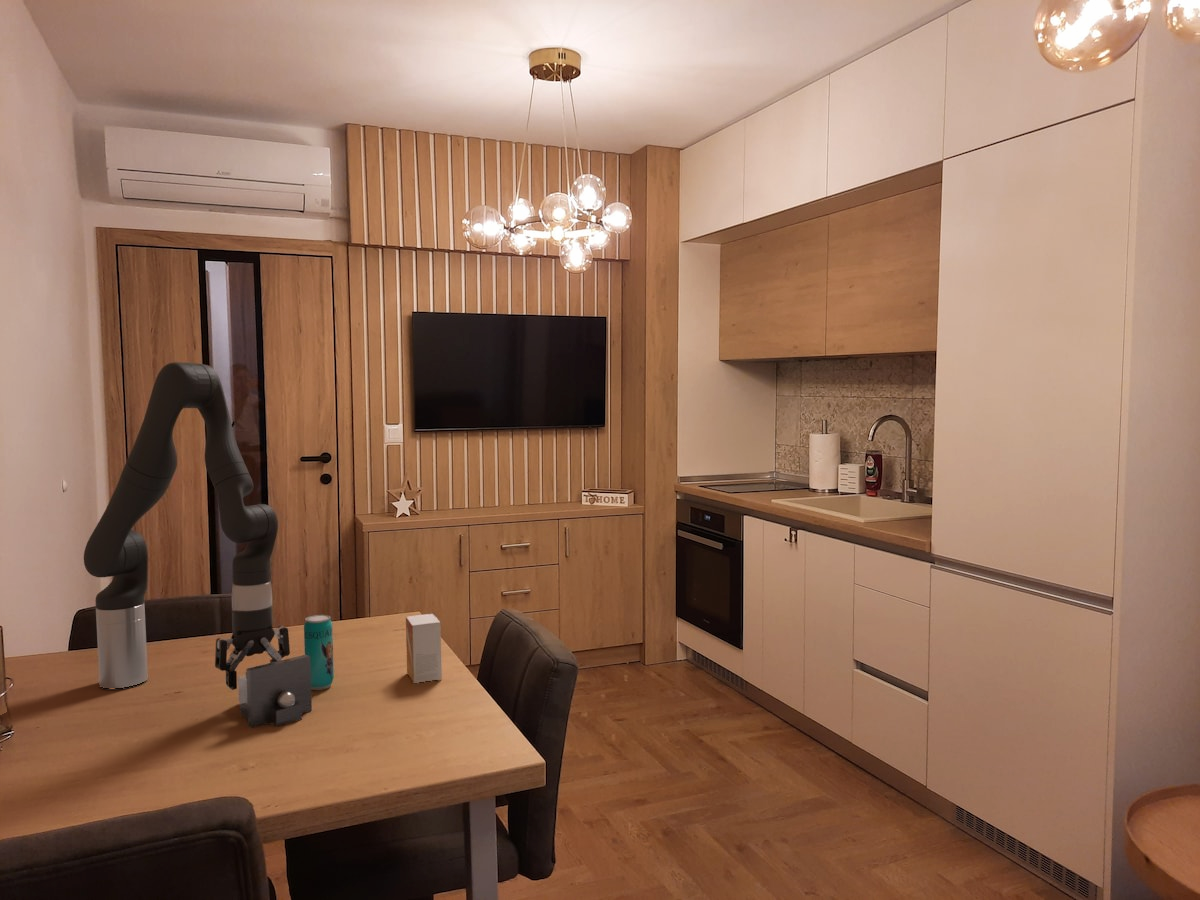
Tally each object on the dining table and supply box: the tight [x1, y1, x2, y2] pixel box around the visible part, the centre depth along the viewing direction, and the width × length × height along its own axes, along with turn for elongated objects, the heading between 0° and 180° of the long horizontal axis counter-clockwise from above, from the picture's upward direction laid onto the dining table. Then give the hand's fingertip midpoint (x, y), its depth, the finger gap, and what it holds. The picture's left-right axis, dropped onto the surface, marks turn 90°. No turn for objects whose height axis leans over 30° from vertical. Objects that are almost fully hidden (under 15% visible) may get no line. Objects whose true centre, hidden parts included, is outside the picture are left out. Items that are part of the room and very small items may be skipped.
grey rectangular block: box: [237, 674, 247, 706], centre depth 169 cm, size 13×4×6 cm, turn 47°
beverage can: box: [303, 614, 335, 691], centre depth 181 cm, size 6×6×15 cm
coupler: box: [239, 654, 313, 729], centre depth 165 cm, size 12×12×11 cm
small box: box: [405, 613, 443, 684], centre depth 187 cm, size 8×6×13 cm
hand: (253, 683), depth 171 cm, fingers open, 8 cm apart
